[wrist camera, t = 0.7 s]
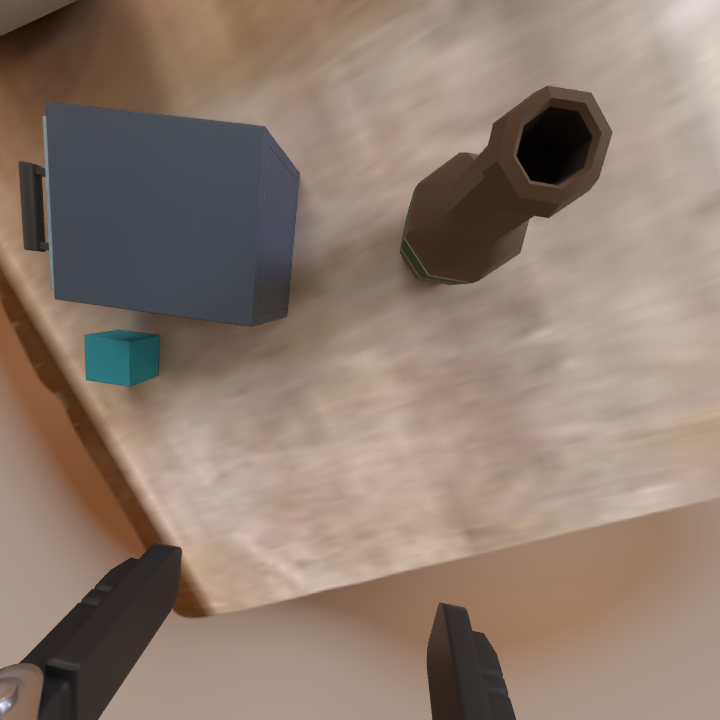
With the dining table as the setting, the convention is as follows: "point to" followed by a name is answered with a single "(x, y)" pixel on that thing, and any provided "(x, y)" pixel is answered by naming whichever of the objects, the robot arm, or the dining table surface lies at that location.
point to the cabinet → (170, 214)
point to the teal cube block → (121, 357)
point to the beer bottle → (505, 187)
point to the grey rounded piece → (26, 12)
